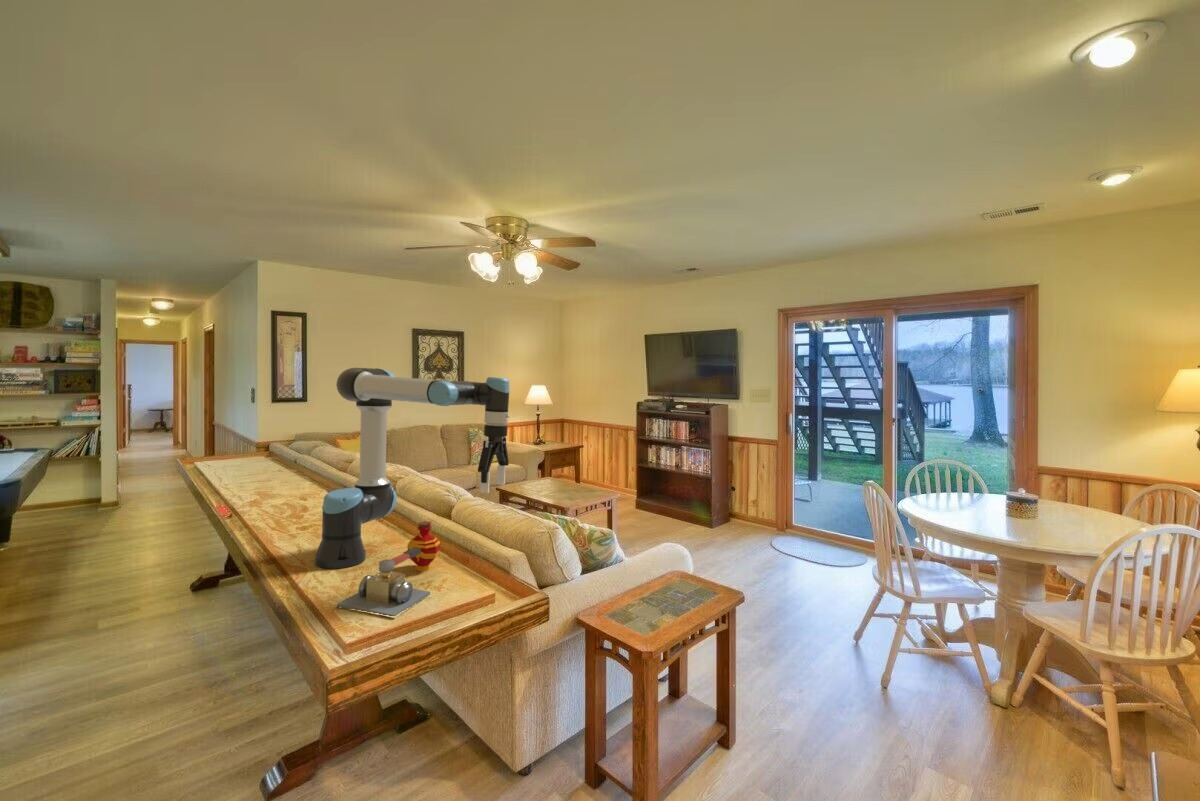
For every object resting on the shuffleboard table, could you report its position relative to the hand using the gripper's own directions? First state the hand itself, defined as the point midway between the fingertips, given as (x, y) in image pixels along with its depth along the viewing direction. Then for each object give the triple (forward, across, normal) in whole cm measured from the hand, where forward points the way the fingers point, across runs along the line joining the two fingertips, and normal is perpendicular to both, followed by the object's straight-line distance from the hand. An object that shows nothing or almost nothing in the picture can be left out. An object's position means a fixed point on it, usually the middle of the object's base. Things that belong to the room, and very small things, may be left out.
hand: (492, 488), depth 168 cm
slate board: (+27, -30, +18) cm, 45 cm away
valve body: (+27, -30, +18) cm, 45 cm away
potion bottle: (+28, -5, +21) cm, 35 cm away
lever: (+18, -24, +17) cm, 35 cm away
